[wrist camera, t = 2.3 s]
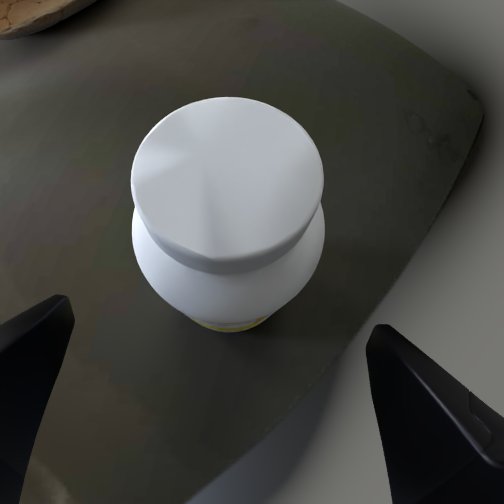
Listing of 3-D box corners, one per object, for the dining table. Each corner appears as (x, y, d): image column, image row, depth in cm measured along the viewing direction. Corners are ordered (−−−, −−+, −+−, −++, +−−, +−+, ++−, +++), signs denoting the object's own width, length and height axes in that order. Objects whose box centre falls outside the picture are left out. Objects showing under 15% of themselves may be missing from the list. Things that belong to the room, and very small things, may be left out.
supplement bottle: (242, 210, 21) (261, 49, 9) (303, 292, 19) (413, 204, 7) (155, 265, 19) (62, 144, 7) (213, 354, 18) (182, 372, 6)
